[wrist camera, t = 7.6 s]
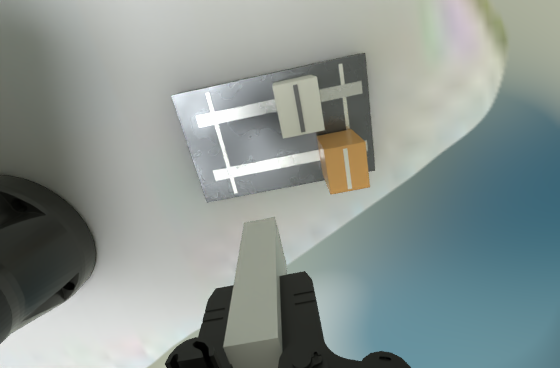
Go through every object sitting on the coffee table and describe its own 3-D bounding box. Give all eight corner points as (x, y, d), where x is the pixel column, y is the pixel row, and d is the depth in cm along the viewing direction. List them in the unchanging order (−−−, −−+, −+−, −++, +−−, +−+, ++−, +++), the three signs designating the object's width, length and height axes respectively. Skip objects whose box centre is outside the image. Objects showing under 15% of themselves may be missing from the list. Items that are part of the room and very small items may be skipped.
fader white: (282, 126, 25) (282, 139, 20) (273, 82, 23) (272, 86, 19) (317, 119, 24) (325, 130, 20) (310, 74, 23) (317, 76, 19)
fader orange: (322, 174, 26) (330, 195, 22) (316, 136, 25) (324, 150, 21) (355, 168, 26) (370, 187, 22) (351, 129, 25) (365, 142, 21)
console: (210, 195, 29) (206, 202, 28) (176, 93, 25) (170, 95, 24) (370, 165, 28) (375, 170, 26) (360, 53, 24) (365, 52, 23)
